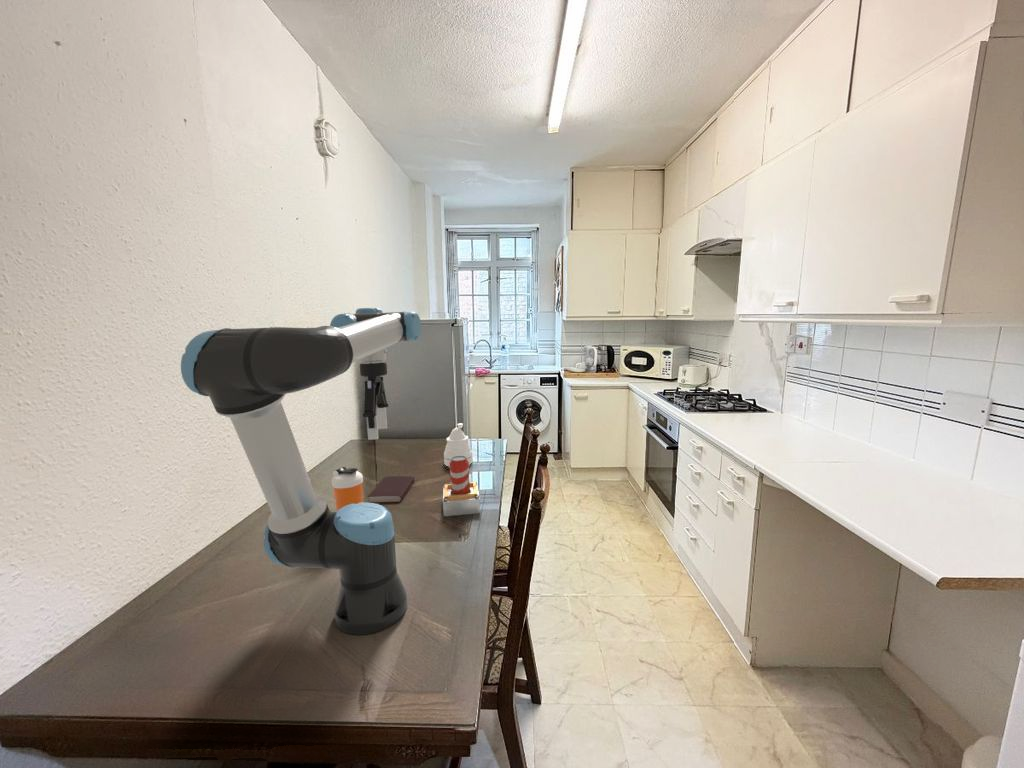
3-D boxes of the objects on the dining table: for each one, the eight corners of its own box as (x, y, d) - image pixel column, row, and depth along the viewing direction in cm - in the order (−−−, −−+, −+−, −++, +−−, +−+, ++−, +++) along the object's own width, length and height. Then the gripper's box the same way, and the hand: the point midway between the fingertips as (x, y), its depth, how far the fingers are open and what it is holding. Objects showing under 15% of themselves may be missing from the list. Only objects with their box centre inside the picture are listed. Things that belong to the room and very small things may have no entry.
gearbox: (480, 512, 140) (479, 495, 139) (443, 516, 139) (442, 498, 138) (477, 496, 154) (476, 480, 153) (444, 499, 152) (443, 483, 151)
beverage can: (449, 495, 143) (447, 461, 141) (454, 487, 149) (453, 455, 147) (466, 495, 142) (464, 461, 140) (471, 488, 148) (469, 455, 146)
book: (415, 483, 171) (414, 475, 170) (401, 503, 152) (401, 494, 151) (384, 484, 171) (383, 476, 171) (367, 504, 152) (366, 495, 152)
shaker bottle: (357, 539, 125) (351, 474, 123) (330, 537, 127) (324, 473, 125) (372, 525, 134) (367, 464, 131) (347, 523, 136) (341, 463, 133)
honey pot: (462, 457, 201) (460, 420, 199) (478, 463, 191) (476, 424, 189) (439, 463, 193) (436, 425, 191) (454, 470, 183) (451, 429, 181)
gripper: (377, 364, 111) (383, 443, 113) (393, 359, 135) (397, 424, 138) (348, 365, 110) (354, 445, 112) (369, 360, 135) (374, 425, 137)
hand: (378, 433), depth 125 cm, fingers open, 13 cm apart
